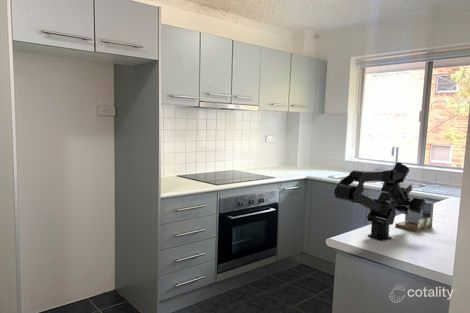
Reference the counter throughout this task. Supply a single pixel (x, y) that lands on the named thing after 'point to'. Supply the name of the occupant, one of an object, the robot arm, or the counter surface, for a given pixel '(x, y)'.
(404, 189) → the robot arm
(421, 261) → the counter surface
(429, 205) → the brushed steel plate
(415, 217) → the pale blue shelf board
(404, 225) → the gauge frame
